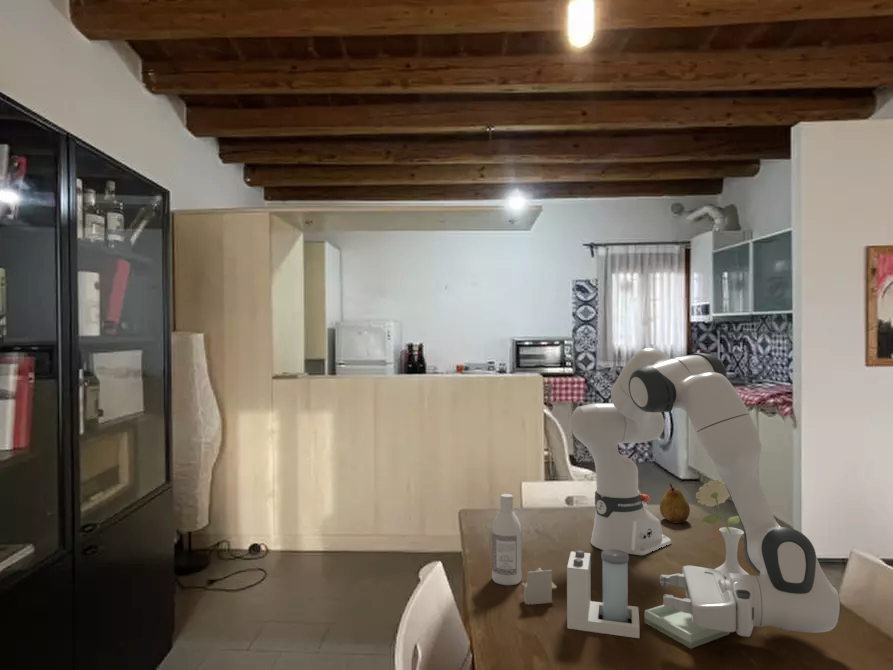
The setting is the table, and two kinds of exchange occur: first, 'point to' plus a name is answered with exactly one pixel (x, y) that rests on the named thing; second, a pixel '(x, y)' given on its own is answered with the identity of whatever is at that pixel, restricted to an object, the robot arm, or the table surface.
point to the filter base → (591, 602)
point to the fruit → (674, 506)
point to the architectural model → (538, 587)
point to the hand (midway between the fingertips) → (661, 589)
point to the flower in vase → (714, 496)
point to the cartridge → (615, 585)
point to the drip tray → (680, 626)
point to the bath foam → (506, 544)
